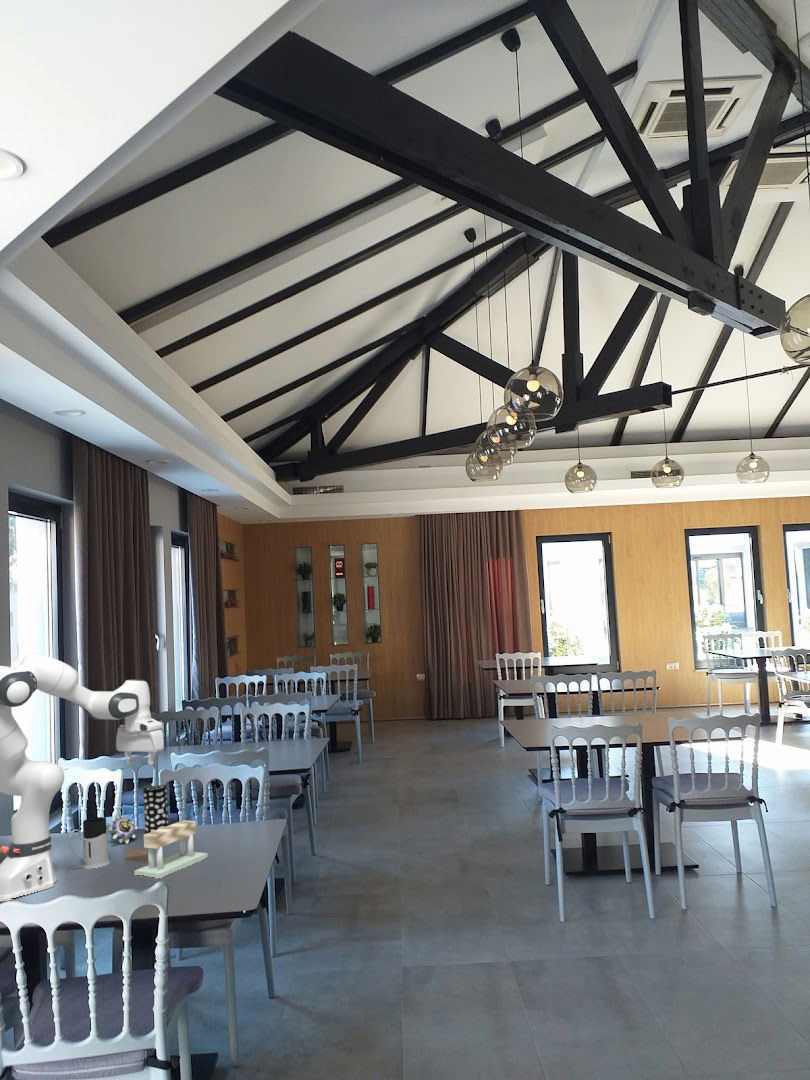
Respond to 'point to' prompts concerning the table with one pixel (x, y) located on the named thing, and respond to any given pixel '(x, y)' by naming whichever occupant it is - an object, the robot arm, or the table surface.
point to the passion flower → (122, 829)
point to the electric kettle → (94, 843)
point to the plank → (169, 834)
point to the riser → (137, 854)
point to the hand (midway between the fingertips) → (140, 764)
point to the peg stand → (171, 860)
